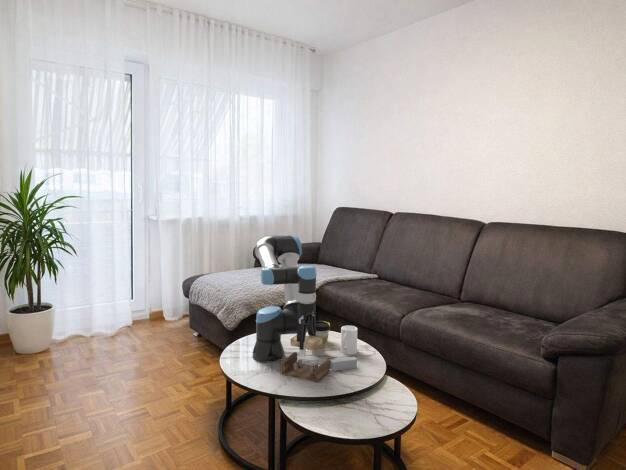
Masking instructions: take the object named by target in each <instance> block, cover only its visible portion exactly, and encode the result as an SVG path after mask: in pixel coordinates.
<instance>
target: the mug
mask: <svg viewBox="0 0 626 470" xmlns="http://www.w3.org/2000/svg"><path fill="white" fill-rule="evenodd" d="M339 351H340V353H341V354H343V355H349V356H350V355H356V354H357V353H358V327H356V325H343V326H341V328H340V349H339Z"/></svg>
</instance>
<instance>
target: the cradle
mask: <svg viewBox="0 0 626 470" xmlns="http://www.w3.org/2000/svg"><path fill="white" fill-rule="evenodd" d="M330 360H331V359H329V358H326V359H325V360H324V361H323V362H322V363H320V365H319V363H318V362H314V365H311V364H307V363H303V360H302V359H298V352H296V351H295V352H292V353H291V354H290V355H289V356H287V357H285V359H284V358H283V360H282V361H281V362H280V363H281V365H280V367H281V369H280V371H281V372H280V374H281V375H285V376H289V377H295V378H298V379H302V380H307V381H311V382H315V383H320V382H321V381H322V380H323V379H324V378H325V377H326V376H327V375H328V374H329V373H330V372H331V369H330Z"/></svg>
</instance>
